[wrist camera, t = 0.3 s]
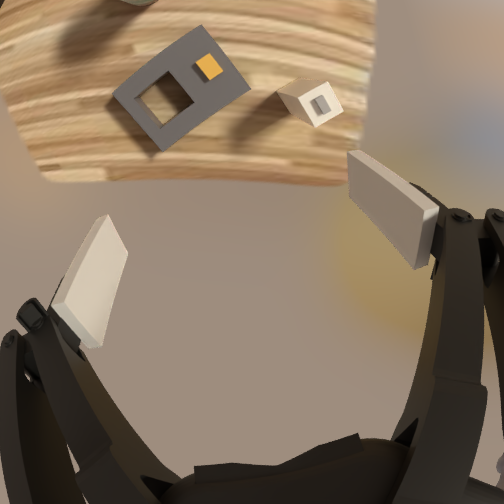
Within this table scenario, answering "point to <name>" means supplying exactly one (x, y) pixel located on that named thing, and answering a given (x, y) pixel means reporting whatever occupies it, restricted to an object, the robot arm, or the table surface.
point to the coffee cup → (140, 2)
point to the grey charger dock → (184, 85)
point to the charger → (310, 100)
